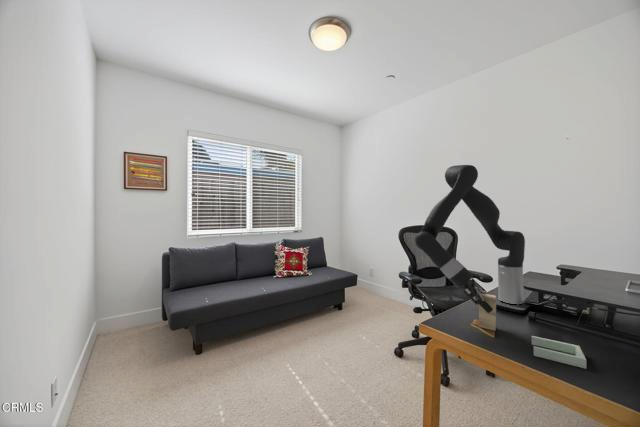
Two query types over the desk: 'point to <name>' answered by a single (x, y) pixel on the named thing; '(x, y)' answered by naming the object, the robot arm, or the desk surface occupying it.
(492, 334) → the shard
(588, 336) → the desk surface
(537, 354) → the tray
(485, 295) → the oak block
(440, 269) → the robot arm
